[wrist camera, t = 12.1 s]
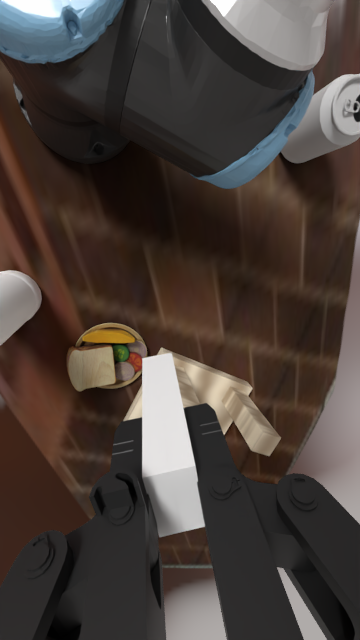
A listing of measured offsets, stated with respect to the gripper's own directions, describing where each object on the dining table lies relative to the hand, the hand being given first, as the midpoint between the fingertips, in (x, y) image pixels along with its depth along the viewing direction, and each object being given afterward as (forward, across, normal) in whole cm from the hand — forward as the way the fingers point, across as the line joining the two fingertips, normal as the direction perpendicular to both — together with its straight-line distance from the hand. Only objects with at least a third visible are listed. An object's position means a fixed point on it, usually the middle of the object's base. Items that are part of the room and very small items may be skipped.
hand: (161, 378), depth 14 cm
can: (+37, +27, +15) cm, 48 cm away
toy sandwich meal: (+32, -10, -15) cm, 37 cm away
